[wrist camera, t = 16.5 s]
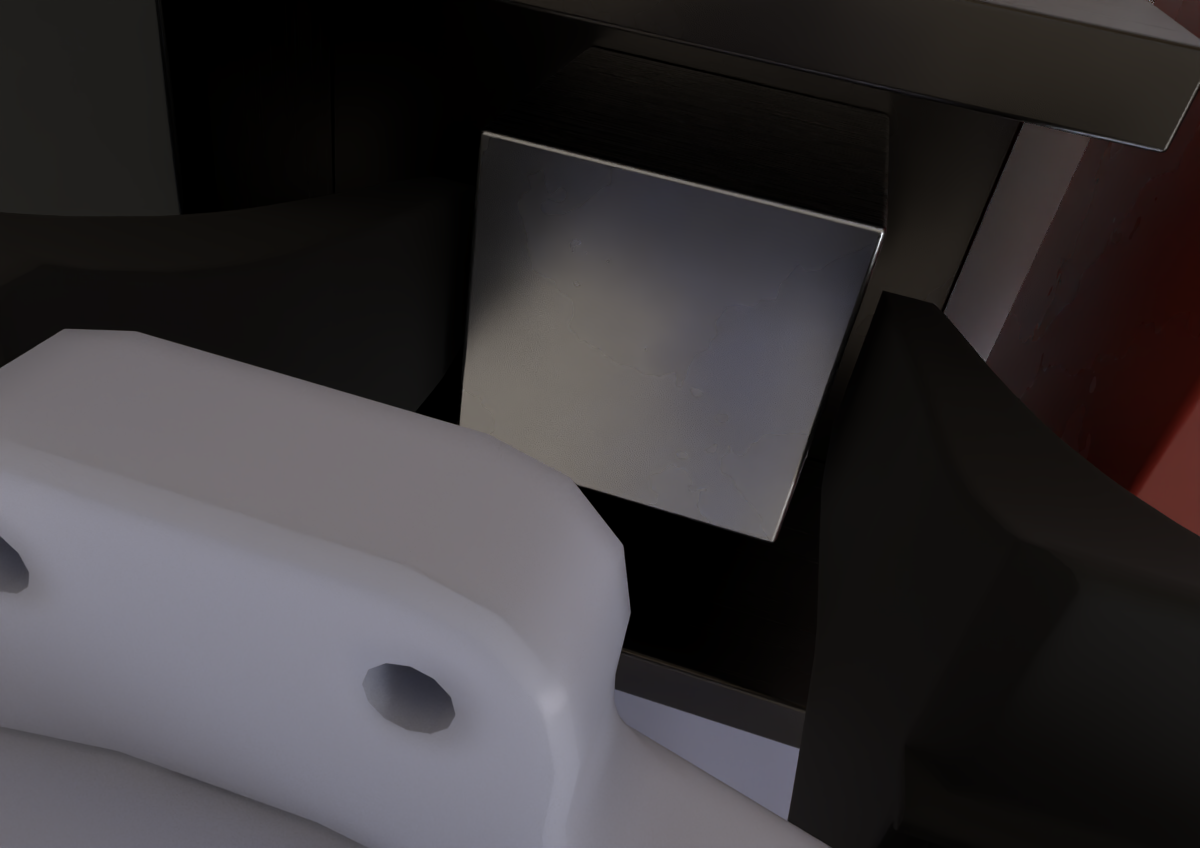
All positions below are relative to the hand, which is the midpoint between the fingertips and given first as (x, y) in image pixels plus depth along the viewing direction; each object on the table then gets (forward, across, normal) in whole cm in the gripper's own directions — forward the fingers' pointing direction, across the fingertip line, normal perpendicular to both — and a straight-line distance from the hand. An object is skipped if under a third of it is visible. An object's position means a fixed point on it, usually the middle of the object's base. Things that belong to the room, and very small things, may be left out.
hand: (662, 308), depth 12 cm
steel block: (+3, 0, 0) cm, 3 cm away
